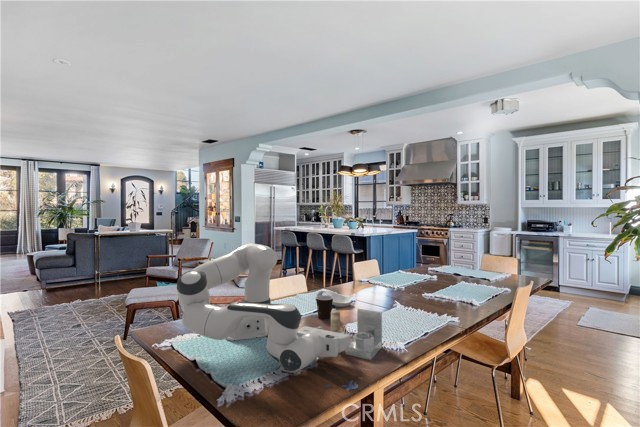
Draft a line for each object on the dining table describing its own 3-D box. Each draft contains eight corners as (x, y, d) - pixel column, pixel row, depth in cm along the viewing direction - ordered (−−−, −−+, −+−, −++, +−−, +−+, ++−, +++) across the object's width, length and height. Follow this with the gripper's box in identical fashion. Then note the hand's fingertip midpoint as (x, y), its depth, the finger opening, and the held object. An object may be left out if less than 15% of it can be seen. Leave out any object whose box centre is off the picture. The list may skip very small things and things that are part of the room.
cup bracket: (370, 360, 124) (370, 321, 124) (345, 354, 129) (345, 317, 129) (382, 347, 135) (382, 312, 135) (358, 342, 140) (358, 308, 140)
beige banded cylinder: (334, 349, 133) (334, 314, 133) (329, 346, 136) (329, 311, 136) (341, 347, 135) (341, 312, 135) (336, 344, 138) (336, 310, 138)
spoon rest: (355, 306, 192) (355, 293, 192) (342, 310, 183) (342, 297, 183) (324, 298, 208) (324, 286, 208) (310, 302, 199) (310, 290, 199)
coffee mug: (331, 320, 167) (331, 300, 166) (314, 319, 168) (314, 299, 168) (335, 313, 178) (335, 294, 178) (319, 312, 180) (319, 293, 179)
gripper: (290, 346, 126) (309, 333, 138) (340, 358, 116) (356, 343, 128) (290, 329, 126) (309, 318, 138) (340, 339, 116) (356, 327, 128)
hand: (332, 330), depth 133 cm, fingers open, 8 cm apart
